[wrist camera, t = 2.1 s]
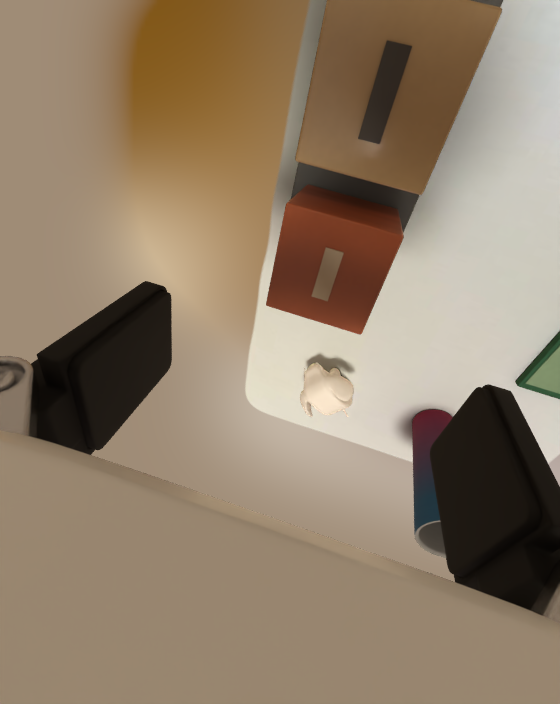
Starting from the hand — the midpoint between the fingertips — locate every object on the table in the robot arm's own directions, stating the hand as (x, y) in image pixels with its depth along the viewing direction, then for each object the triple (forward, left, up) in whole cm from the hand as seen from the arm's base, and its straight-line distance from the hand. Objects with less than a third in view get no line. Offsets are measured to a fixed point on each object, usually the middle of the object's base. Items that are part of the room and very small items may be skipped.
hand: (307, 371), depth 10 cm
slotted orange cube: (0, -1, -11) cm, 11 cm away
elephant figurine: (+17, +12, -26) cm, 33 cm away
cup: (+13, +26, -26) cm, 39 cm away
